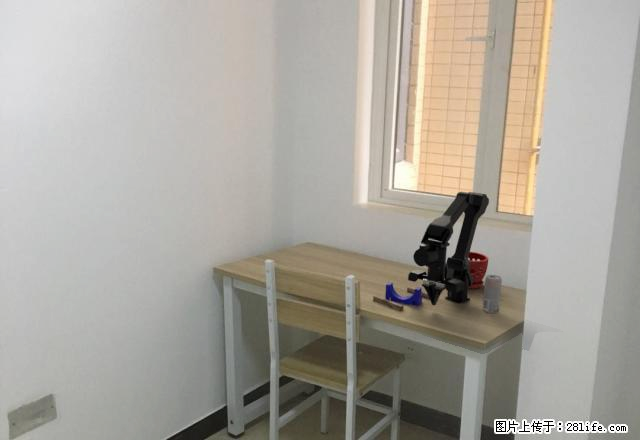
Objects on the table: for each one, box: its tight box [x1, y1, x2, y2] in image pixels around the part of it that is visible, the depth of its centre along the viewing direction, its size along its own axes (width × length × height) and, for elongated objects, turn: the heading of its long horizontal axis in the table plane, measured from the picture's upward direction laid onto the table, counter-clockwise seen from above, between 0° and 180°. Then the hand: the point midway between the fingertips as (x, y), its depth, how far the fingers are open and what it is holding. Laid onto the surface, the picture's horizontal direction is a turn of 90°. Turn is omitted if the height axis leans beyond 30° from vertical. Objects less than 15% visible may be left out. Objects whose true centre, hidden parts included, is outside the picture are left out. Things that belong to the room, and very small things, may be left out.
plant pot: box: [453, 251, 489, 289], centre depth 229 cm, size 13×13×12 cm
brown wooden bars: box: [372, 286, 430, 311], centre depth 211 cm, size 13×19×2 cm
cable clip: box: [384, 281, 423, 307], centre depth 209 cm, size 12×4×6 cm, turn 64°
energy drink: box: [482, 274, 503, 314], centre depth 201 cm, size 5×5×12 cm
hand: (433, 305), depth 201 cm, fingers closed
